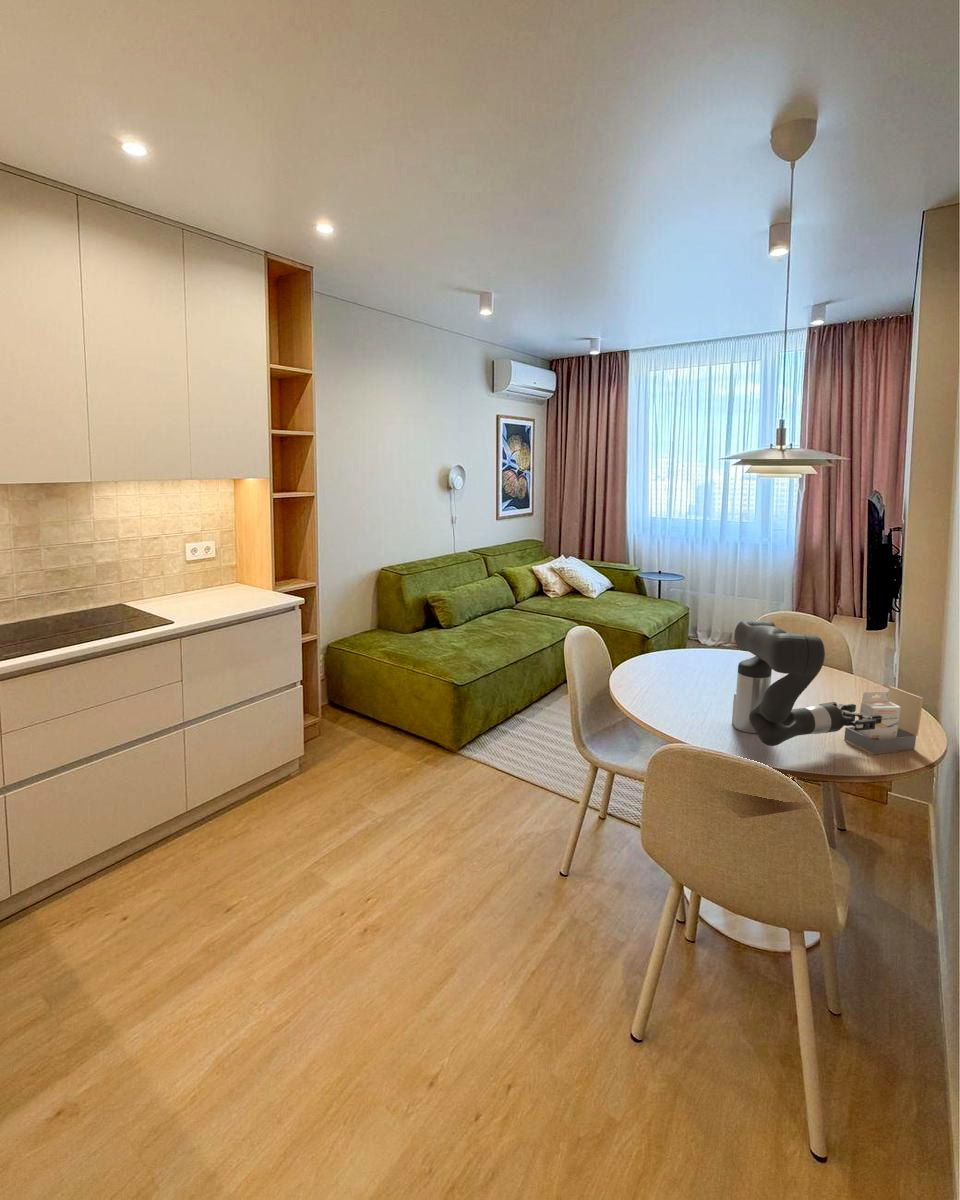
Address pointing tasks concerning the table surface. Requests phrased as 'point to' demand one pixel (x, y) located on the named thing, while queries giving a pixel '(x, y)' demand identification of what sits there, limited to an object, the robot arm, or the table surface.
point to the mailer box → (906, 726)
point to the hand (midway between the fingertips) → (867, 713)
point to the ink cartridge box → (884, 709)
